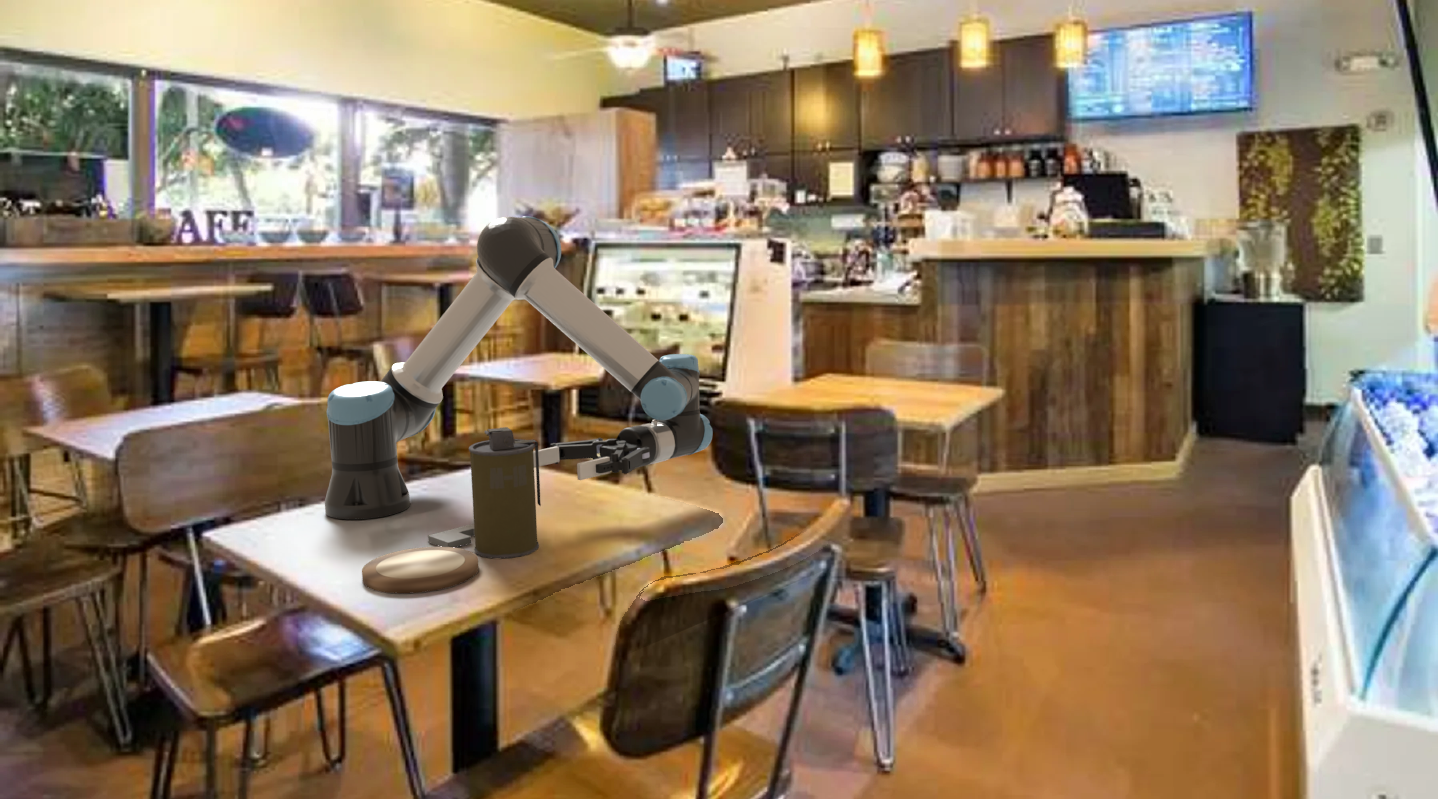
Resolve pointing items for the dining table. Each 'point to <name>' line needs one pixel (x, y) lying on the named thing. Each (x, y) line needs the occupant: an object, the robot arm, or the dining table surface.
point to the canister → (504, 495)
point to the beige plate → (420, 570)
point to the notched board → (453, 537)
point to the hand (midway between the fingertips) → (552, 466)
